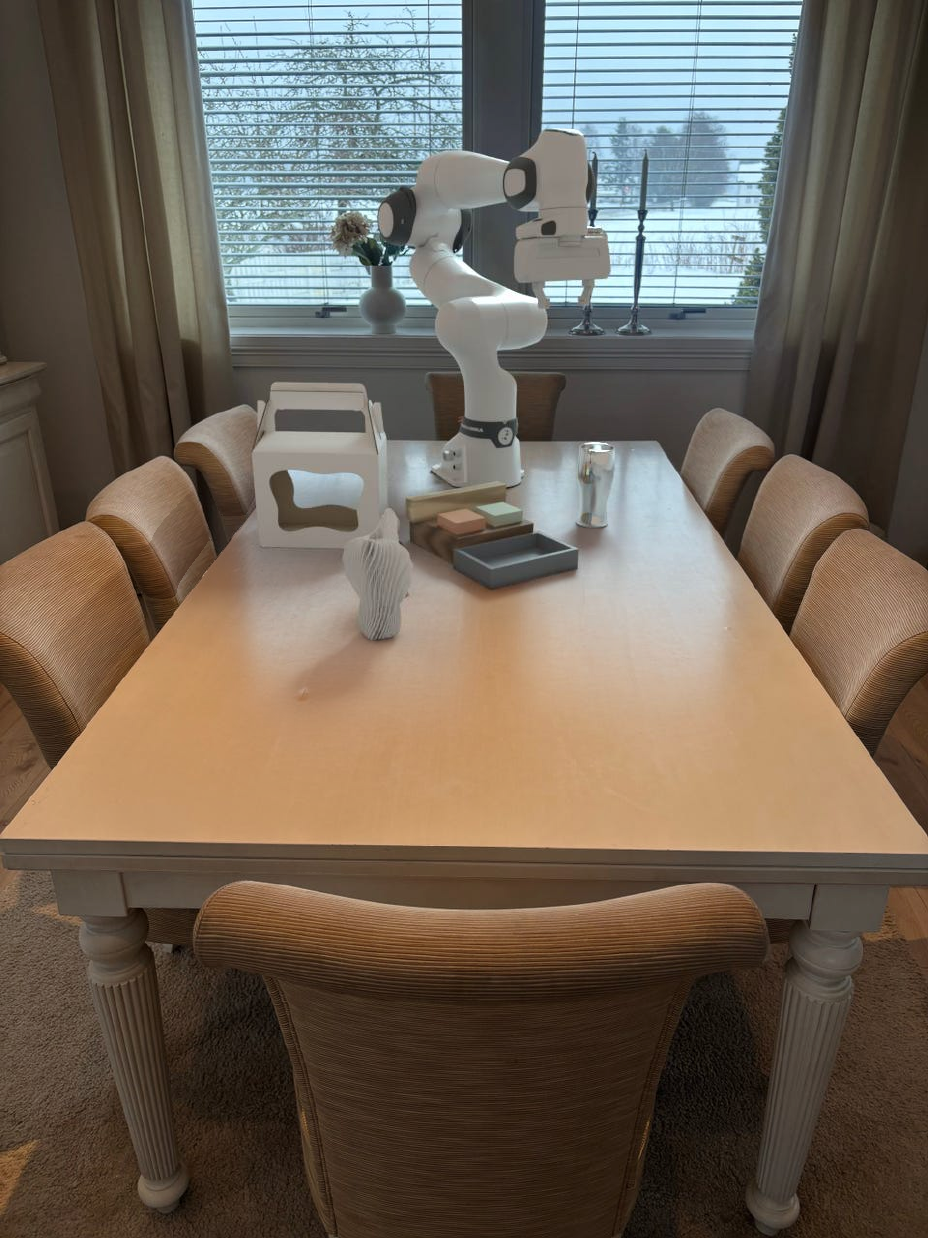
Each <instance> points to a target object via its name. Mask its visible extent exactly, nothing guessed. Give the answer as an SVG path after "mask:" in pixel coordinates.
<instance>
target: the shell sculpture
mask: <svg viewBox="0 0 928 1238" xmlns="http://www.w3.org/2000/svg"><path fill="white" fill-rule="evenodd" d="M396 517H397V515H396V513H395V511H394V510H393V509H392V508H391V507H388V508H387V509H386V510H385V512H384V515H382V518H381V520H380V521H379V524H378V525H377V526H378V532H377V535H376V531H377V527H376V530H374V532H372V533H371V534H369V535H367V536H363V537H358V538H355V539H353V540H351V541H349V542H348V543H347V544H346V545H345V546H344V549H343V554H342V563H343V567H344V568H343V569H344V573H345V576H346V578H347V580H348V582H349V584H350V586H351V588H352V590H353V591H354V592H355V594H356V595H357V597H358V598H359V607H358V615H357V625H358V627H359V630H360V632H361V633H362V634H363V635H364V636H365V637H367V638H368V639H369V640H371V641H373V640H374V641H376V640H379V641H380V640H385V639H389V638H393V637H395V636H397V635H399V633H400V631H401V625H402V606H401V603H403V602H404V599H406V597H407V596H406V594H407V592H408V593H409V591H410V588H411V586H412V582H413V579H412V573H413V571H414V565H413V562H412V560H411V558H410V557H411V556H410V553H409V551H408V550H407V548H405V546H404V545H403V546H404V547H403V546H402V545H401V544H400V543H399V541H400V540H399V535H398V530H397V518H398V517H397V518H396ZM377 537H378V539H377ZM388 577H389V580H388ZM387 581H388V588H387ZM391 587H392V589H391ZM401 590H402V591H401ZM390 593H391V594H390ZM400 593H401V594H400Z"/></svg>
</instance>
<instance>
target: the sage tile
mask: <svg viewBox="0 0 928 1238" xmlns="http://www.w3.org/2000/svg"><path fill="white" fill-rule="evenodd" d="M523 512H524V510H523V509H521V508H518V507H516V506H514V505H511V504H509V503H507V502H506V503H505V502H499V503H494V504H488V505H483V506H478V507H476V512H475V513H476V514H479V515H481V516H483V517H485V522H486V523H488V524H490V525H492V526H494V527H496V526H501V525H506V524H511V523H516V522H521V521H522V518H524V517H523Z"/></svg>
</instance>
